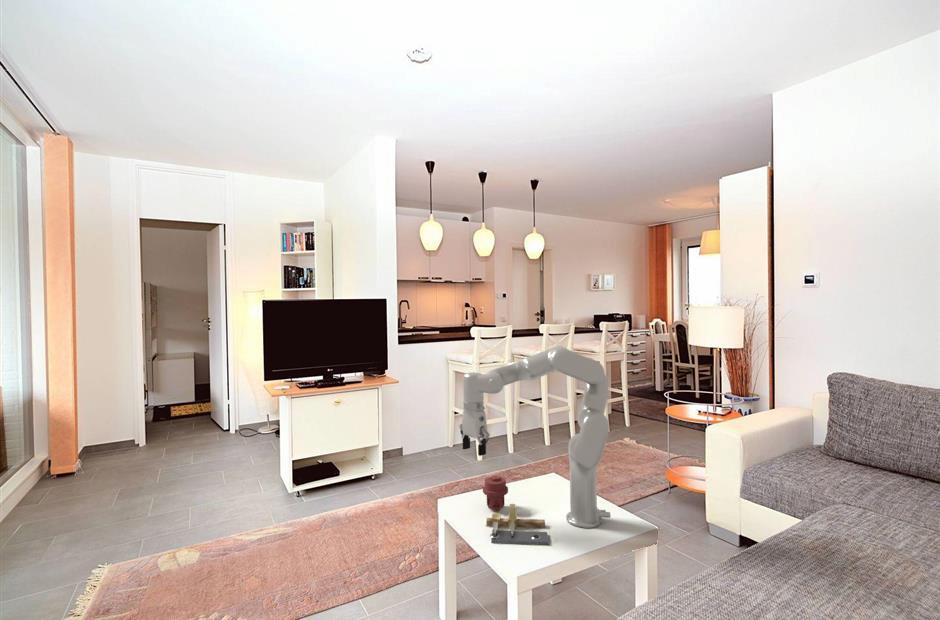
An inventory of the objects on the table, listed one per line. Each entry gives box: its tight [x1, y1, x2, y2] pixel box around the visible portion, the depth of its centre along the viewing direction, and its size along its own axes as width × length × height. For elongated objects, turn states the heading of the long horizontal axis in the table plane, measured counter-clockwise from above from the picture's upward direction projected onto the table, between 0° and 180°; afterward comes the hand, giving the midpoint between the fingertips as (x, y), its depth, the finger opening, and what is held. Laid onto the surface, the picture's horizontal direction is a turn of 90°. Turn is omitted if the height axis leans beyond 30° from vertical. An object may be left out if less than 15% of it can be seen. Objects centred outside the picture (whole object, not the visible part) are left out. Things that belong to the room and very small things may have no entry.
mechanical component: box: [482, 475, 509, 513], centre depth 180 cm, size 12×10×10 cm
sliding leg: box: [508, 503, 518, 536], centre depth 161 cm, size 3×13×7 cm, turn 174°
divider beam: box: [485, 512, 546, 536], centre depth 161 cm, size 21×13×3 cm, turn 84°
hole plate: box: [489, 529, 550, 546], centre depth 156 cm, size 20×7×1 cm, turn 84°
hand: (474, 451), depth 171 cm, fingers open, 9 cm apart
